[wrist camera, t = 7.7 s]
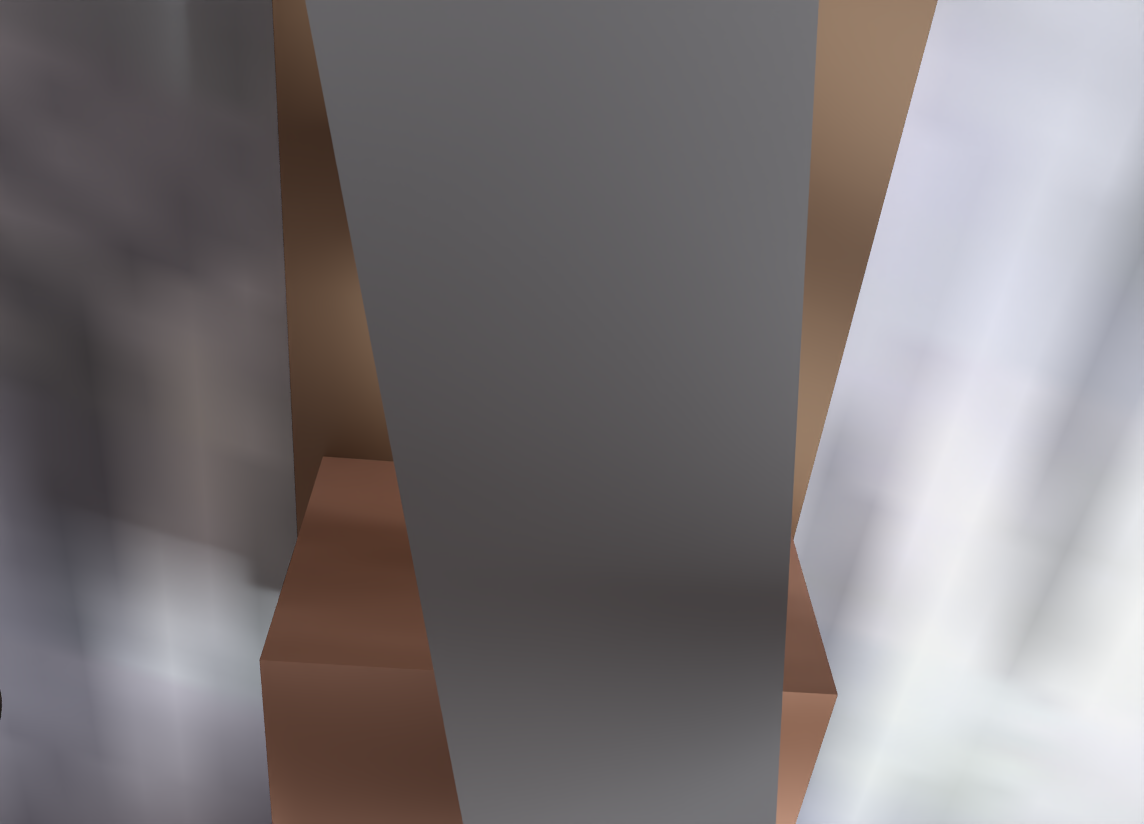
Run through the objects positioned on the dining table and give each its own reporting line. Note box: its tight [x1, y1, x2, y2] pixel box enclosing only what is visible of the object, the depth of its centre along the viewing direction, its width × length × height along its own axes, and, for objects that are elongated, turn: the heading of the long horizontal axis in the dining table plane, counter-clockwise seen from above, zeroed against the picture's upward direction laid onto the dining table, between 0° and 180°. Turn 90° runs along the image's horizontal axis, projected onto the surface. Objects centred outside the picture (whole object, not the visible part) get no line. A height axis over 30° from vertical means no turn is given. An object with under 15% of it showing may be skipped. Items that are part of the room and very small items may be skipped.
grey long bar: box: [305, 0, 819, 824], centre depth 11 cm, size 20×3×4 cm, turn 4°
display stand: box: [260, 0, 938, 824], centre depth 15 cm, size 19×9×6 cm, turn 174°
